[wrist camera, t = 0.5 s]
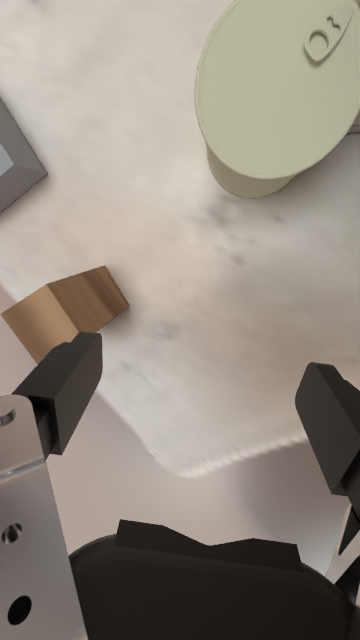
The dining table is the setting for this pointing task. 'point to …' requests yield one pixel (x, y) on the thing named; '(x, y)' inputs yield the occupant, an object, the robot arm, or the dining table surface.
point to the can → (277, 89)
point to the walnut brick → (65, 310)
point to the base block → (15, 161)
